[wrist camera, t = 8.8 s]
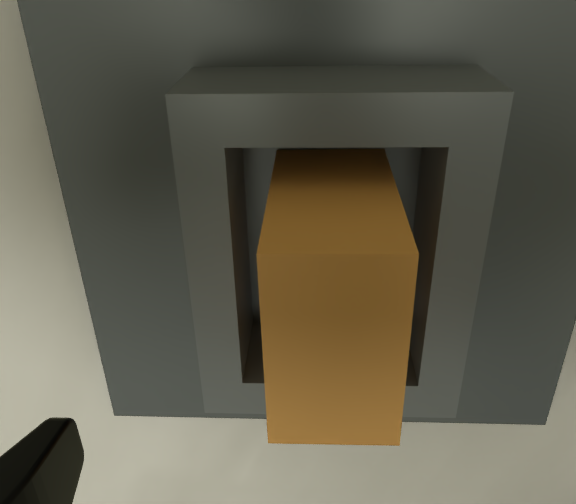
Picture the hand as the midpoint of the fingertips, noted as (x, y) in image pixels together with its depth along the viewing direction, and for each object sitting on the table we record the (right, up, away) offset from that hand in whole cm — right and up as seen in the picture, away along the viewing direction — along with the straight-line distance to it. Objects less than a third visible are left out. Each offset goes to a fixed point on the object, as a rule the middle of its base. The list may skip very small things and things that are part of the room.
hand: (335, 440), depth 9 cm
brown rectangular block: (0, +4, +7) cm, 8 cm away
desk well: (+1, +4, +8) cm, 9 cm away
